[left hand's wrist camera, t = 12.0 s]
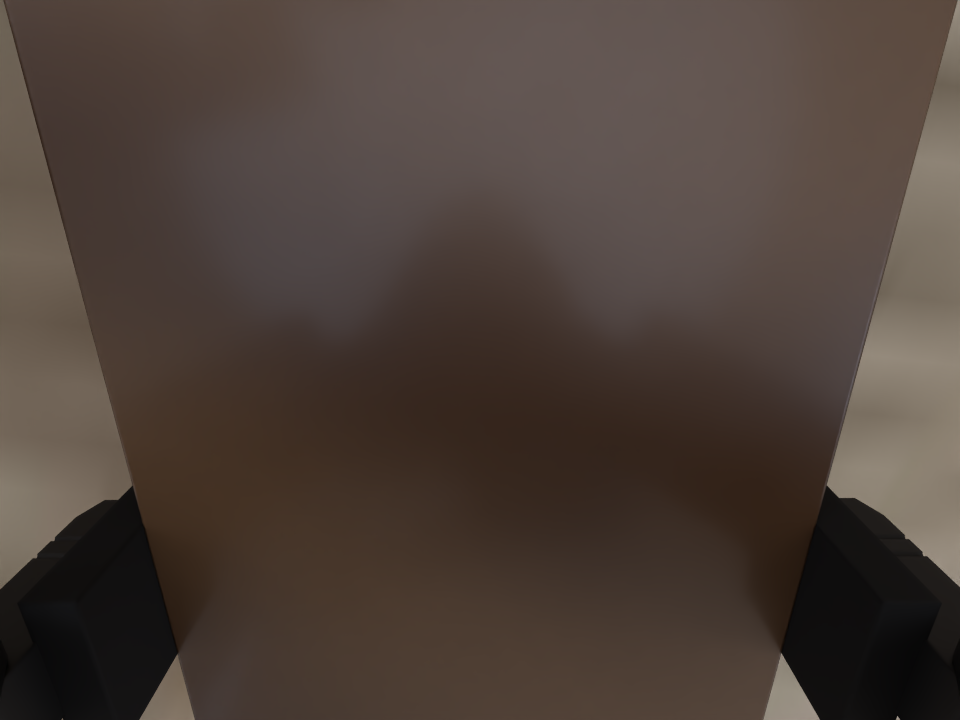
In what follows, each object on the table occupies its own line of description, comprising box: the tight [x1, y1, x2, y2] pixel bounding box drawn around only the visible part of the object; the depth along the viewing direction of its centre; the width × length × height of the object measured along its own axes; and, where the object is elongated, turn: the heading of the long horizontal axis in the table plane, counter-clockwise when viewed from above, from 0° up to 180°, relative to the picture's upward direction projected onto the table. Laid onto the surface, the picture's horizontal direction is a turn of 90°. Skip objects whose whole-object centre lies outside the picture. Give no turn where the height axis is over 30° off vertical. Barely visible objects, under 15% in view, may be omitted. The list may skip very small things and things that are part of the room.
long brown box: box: [4, 0, 957, 720], centre depth 13 cm, size 17×10×11 cm, turn 0°
